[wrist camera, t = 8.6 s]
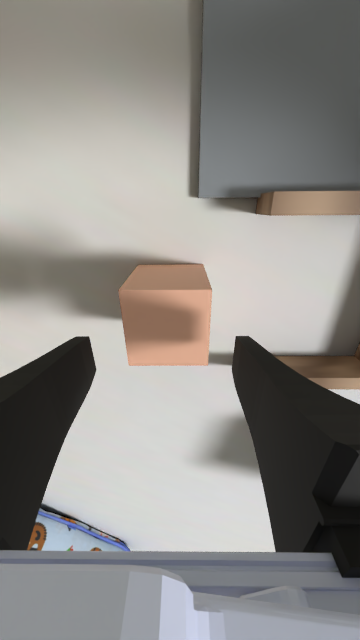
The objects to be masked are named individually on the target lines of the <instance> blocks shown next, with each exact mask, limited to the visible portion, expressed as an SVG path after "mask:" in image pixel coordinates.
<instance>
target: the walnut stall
mask: <svg viewBox="0 0 360 640" xmlns="http://www.w3.org/2000/svg"><path fill="white" fill-rule="evenodd" d="M256 214H261V215H360V191H276V192H268V193H262V194H261V196H260V197H258V199H257V206H256ZM275 357H276V358H277V359H279V360H280V361H282V362H283V363H284V364H286V365H287V366H289V367H290V368H292V369H293V370H295V371H296V372H298V373H299V374H301V375H303V376H304V377H306V378H308V379H309V380H311V381H313V382H315V383H316V384H318V385H320V386H322V387H324V388H326V389H360V343H359V345H358V348H357V350H356V353H355V355H354V356H275Z"/></svg>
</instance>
